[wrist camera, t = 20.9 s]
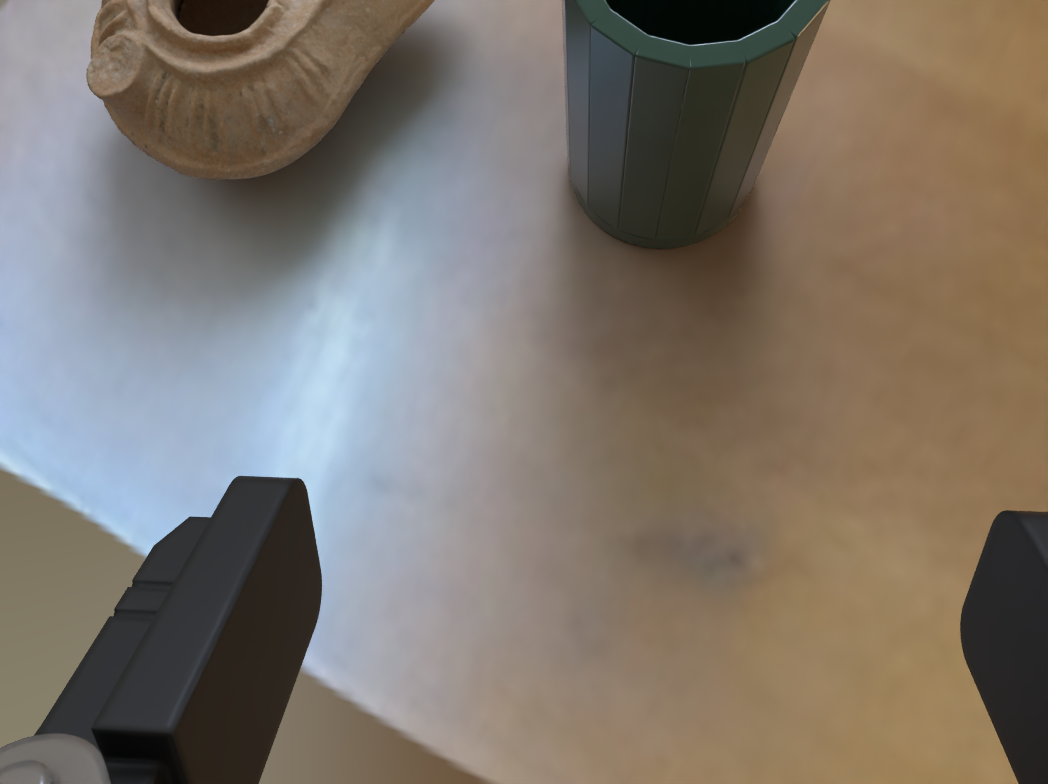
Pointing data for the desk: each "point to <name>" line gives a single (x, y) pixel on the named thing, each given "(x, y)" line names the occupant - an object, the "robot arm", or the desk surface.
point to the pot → (676, 107)
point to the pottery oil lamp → (236, 75)
